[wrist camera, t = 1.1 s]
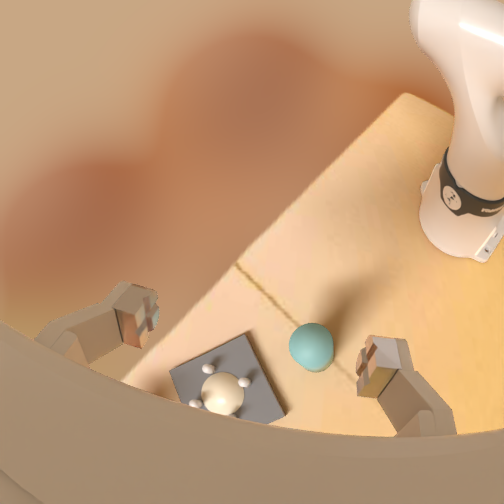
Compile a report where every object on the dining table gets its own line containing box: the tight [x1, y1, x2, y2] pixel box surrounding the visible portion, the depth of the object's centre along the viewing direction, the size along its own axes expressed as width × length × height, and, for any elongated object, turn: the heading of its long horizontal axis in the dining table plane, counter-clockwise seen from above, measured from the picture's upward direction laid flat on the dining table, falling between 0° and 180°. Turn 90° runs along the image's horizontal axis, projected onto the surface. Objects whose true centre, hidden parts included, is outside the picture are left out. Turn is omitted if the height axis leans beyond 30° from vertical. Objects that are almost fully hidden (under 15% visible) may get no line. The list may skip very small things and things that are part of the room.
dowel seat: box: [169, 334, 286, 424], centre depth 41 cm, size 14×14×3 cm
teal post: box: [289, 323, 334, 372], centre depth 37 cm, size 5×5×11 cm
